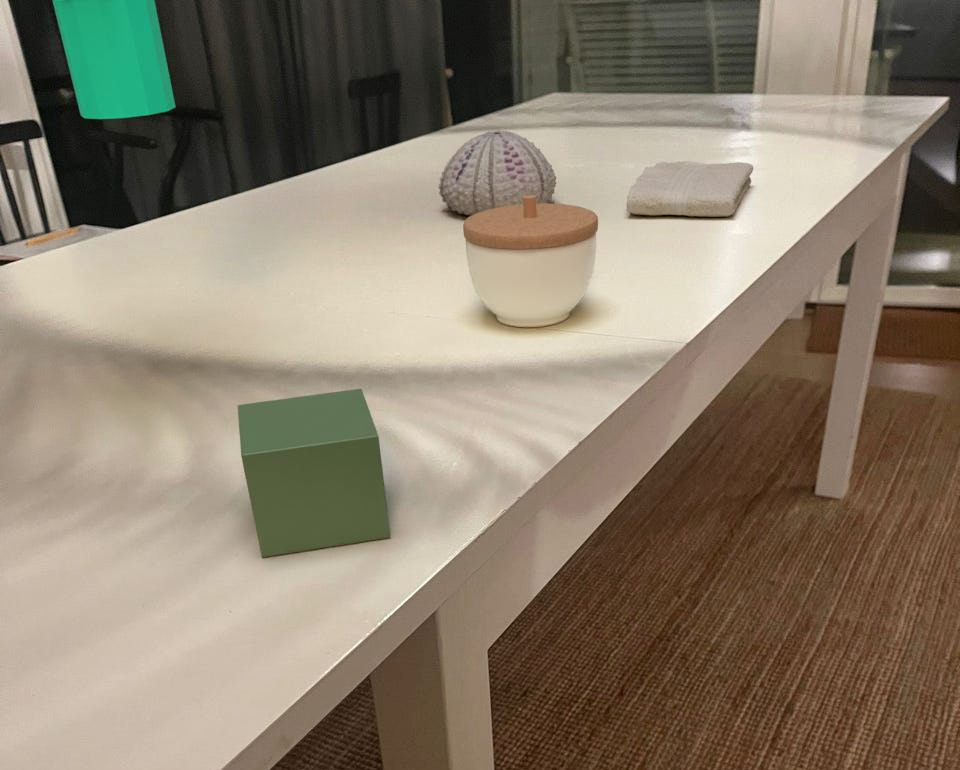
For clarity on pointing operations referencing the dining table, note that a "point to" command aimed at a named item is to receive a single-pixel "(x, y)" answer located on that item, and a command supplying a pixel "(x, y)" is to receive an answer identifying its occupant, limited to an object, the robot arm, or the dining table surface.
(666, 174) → the washcloth
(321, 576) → the dining table surface
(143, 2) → the candle
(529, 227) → the trinket box
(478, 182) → the sea urchin shell
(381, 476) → the block
